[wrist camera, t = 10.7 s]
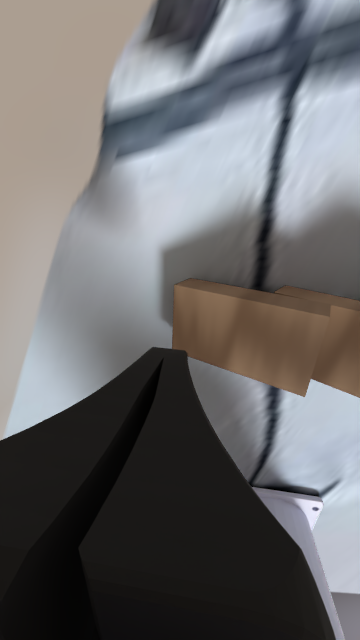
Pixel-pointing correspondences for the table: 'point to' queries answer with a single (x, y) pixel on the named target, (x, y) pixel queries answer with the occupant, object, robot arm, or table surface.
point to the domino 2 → (336, 341)
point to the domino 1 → (250, 331)
